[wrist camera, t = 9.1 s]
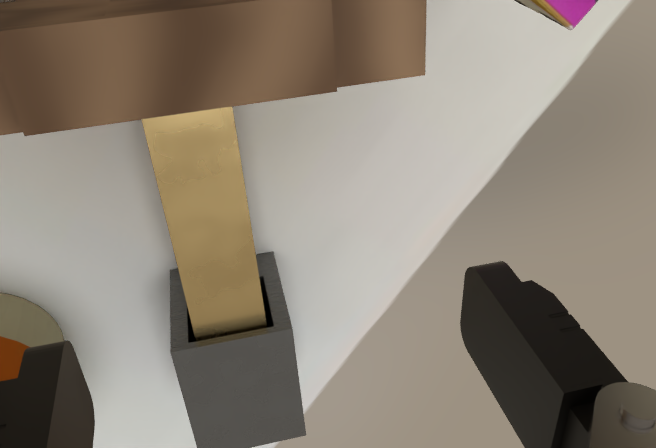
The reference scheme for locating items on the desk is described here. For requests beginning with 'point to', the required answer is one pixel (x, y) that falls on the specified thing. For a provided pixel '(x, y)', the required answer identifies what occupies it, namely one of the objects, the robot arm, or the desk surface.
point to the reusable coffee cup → (22, 332)
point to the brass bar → (208, 219)
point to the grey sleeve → (239, 372)
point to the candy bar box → (561, 10)
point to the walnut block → (192, 55)
